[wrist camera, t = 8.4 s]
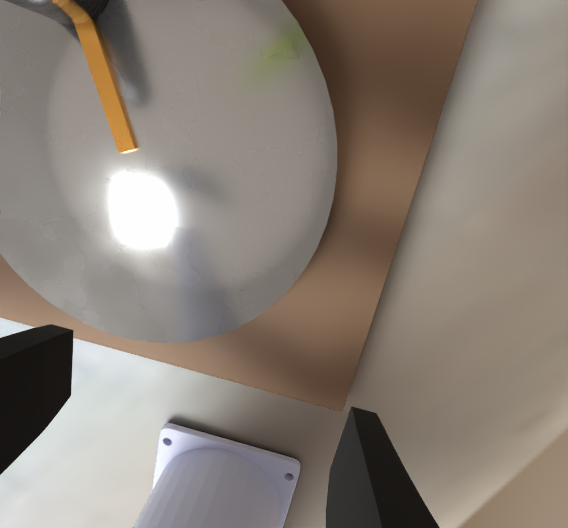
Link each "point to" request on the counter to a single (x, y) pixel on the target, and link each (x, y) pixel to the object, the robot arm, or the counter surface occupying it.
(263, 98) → the dial
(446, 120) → the counter surface
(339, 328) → the dial base
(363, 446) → the robot arm
